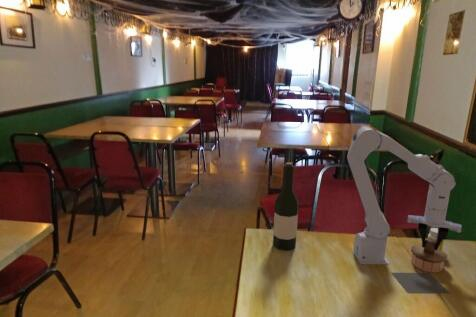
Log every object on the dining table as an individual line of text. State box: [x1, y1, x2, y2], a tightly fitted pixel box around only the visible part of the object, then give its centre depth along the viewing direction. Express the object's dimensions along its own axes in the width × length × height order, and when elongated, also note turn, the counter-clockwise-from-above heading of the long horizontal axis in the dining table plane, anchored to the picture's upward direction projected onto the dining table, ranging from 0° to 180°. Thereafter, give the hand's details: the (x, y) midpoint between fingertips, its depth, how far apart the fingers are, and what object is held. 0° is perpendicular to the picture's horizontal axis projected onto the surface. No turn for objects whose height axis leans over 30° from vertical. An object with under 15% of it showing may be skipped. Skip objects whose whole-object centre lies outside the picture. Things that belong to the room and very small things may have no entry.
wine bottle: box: [272, 162, 300, 252], centre depth 118 cm, size 8×8×30 cm
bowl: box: [410, 252, 445, 273], centre depth 110 cm, size 9×9×4 cm
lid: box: [410, 238, 448, 263], centre depth 108 cm, size 10×10×4 cm
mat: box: [391, 272, 451, 294], centre depth 100 cm, size 12×10×1 cm
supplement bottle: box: [427, 227, 445, 251], centre depth 117 cm, size 5×5×8 cm
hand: (429, 247), depth 109 cm, fingers closed on lid, 3 cm apart
